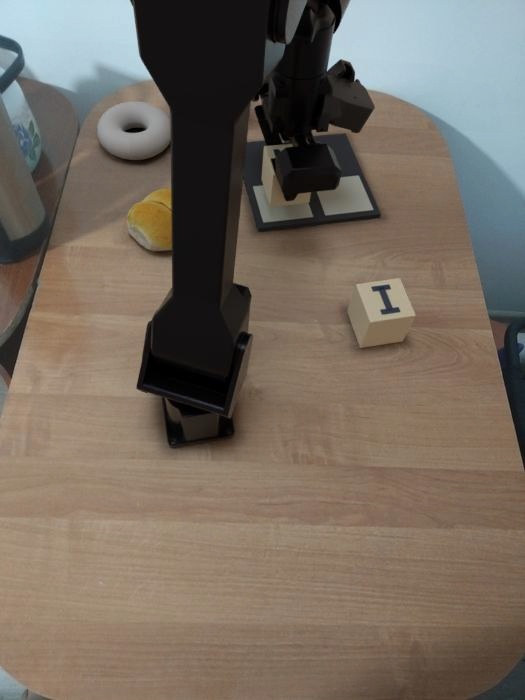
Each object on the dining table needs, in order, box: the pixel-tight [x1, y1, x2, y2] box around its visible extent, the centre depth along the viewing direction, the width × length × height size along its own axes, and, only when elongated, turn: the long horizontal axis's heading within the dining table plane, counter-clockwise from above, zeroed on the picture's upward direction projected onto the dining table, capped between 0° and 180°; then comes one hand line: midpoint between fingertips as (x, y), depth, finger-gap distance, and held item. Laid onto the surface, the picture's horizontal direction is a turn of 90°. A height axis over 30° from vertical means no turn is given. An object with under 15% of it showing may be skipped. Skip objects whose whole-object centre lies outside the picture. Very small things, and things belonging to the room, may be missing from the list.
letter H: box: [262, 144, 311, 207], centre depth 67 cm, size 5×5×5 cm
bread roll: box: [126, 187, 172, 252], centre depth 67 cm, size 8×9×4 cm
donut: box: [96, 101, 171, 161], centre depth 75 cm, size 10×4×10 cm
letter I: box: [346, 277, 417, 349], centre depth 60 cm, size 5×5×5 cm
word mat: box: [243, 133, 382, 232], centre depth 74 cm, size 16×16×1 cm
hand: (284, 185), depth 69 cm, fingers closed on letter H, 5 cm apart
